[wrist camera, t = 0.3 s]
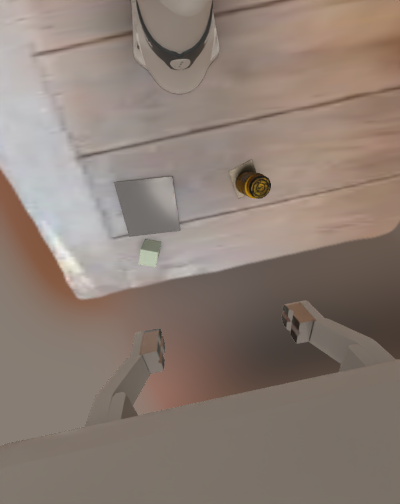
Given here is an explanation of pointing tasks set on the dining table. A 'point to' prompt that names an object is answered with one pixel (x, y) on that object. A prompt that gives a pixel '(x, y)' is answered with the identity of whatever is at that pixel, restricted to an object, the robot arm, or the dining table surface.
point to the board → (148, 205)
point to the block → (149, 253)
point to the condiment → (249, 181)
